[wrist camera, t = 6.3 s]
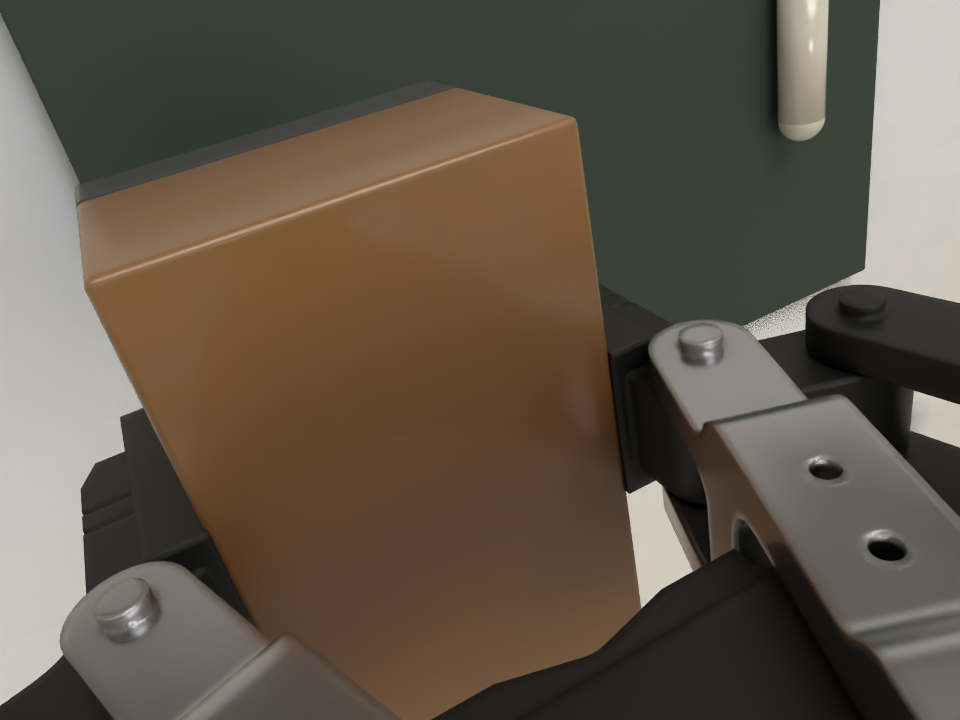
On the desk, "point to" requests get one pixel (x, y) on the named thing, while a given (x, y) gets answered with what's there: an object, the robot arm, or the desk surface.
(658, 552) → the desk surface
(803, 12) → the chalk stick
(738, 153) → the chalkboard
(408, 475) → the eraser
